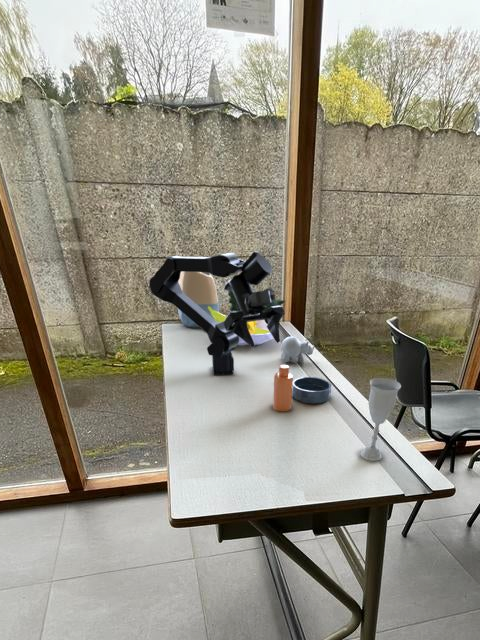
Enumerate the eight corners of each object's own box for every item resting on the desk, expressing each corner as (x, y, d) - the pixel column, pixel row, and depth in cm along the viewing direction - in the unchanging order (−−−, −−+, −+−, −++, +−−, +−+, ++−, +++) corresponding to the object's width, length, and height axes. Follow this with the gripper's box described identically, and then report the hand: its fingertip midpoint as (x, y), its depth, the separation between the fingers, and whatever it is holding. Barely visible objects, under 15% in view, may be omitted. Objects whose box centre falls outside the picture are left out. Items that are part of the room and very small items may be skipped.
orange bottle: (274, 411, 123) (276, 369, 115) (271, 404, 127) (272, 363, 119) (292, 411, 124) (295, 369, 117) (288, 403, 128) (291, 362, 120)
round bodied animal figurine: (314, 364, 156) (317, 340, 151) (281, 364, 155) (283, 339, 150) (311, 357, 162) (313, 334, 157) (279, 357, 160) (280, 333, 155)
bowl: (296, 405, 127) (297, 392, 125) (287, 389, 136) (288, 377, 134) (334, 403, 129) (336, 391, 127) (323, 388, 139) (325, 376, 136)
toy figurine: (231, 326, 196) (286, 323, 197) (226, 280, 184) (284, 276, 185) (231, 321, 203) (284, 318, 204) (226, 275, 191) (283, 272, 193)
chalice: (354, 448, 108) (366, 377, 98) (380, 448, 109) (395, 378, 98) (360, 463, 103) (374, 390, 92) (388, 463, 103) (405, 390, 92)
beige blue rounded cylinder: (221, 328, 187) (219, 267, 173) (181, 329, 183) (176, 266, 168) (215, 318, 199) (212, 260, 185) (178, 318, 195) (172, 259, 181)
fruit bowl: (290, 340, 179) (292, 310, 172) (251, 355, 160) (251, 323, 153) (236, 326, 190) (236, 298, 183) (194, 340, 171) (192, 309, 164)
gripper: (227, 279, 116) (251, 333, 116) (282, 275, 125) (304, 324, 126) (213, 305, 125) (235, 354, 125) (266, 299, 135) (286, 345, 135)
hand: (266, 344), depth 127 cm, fingers open, 9 cm apart
